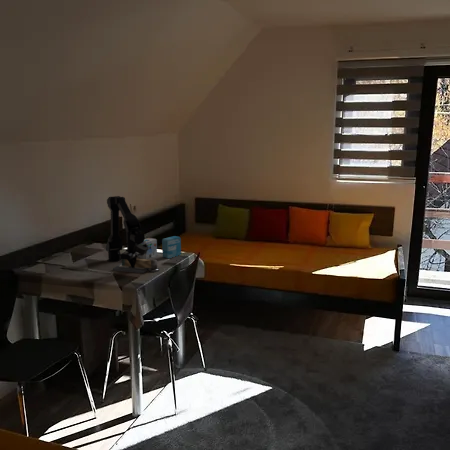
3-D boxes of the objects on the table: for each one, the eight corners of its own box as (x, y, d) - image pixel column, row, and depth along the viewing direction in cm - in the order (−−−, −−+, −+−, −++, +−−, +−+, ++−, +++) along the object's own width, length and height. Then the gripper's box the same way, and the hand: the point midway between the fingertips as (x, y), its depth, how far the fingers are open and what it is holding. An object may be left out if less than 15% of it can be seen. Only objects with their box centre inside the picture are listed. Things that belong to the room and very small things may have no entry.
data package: (167, 259, 295) (167, 239, 293) (162, 257, 298) (161, 238, 295) (181, 255, 304) (180, 236, 302) (176, 253, 307) (175, 235, 305)
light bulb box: (146, 259, 294) (145, 242, 292) (138, 258, 297) (137, 241, 295) (157, 255, 303) (157, 238, 301) (149, 254, 306) (148, 237, 304)
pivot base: (146, 271, 269) (146, 269, 269) (151, 268, 275) (151, 267, 275) (156, 272, 268) (156, 270, 267) (161, 269, 273) (161, 267, 273)
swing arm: (158, 267, 272) (157, 259, 271) (155, 269, 269) (155, 261, 268) (124, 264, 278) (124, 256, 277) (121, 266, 275) (121, 258, 274)
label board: (112, 270, 272) (112, 267, 272) (123, 264, 283) (122, 262, 283) (143, 273, 267) (143, 270, 266) (152, 267, 278) (152, 264, 278)
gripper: (137, 245, 254) (138, 273, 258) (152, 237, 272) (153, 264, 275) (118, 243, 257) (120, 271, 261) (134, 236, 275) (135, 262, 278)
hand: (133, 267), depth 269 cm, fingers closed
